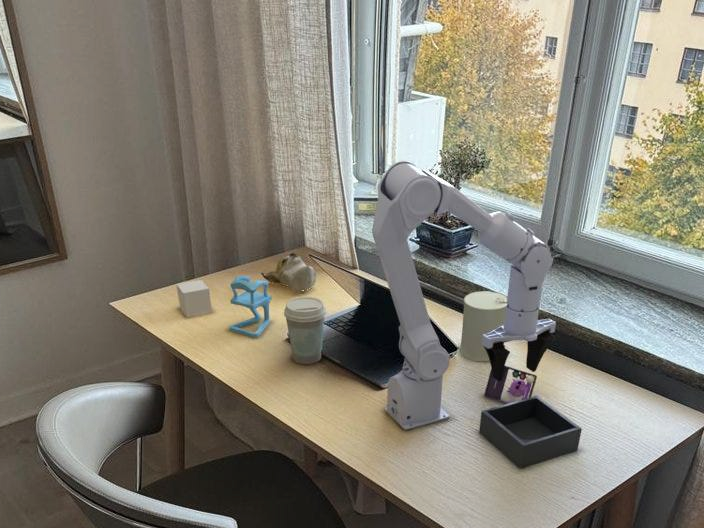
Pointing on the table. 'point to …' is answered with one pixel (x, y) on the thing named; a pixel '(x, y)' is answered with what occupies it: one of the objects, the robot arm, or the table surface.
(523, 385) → the purple toy package
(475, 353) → the can
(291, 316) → the coffee cup
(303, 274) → the ceramic sculpture
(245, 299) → the chair
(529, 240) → the robot arm
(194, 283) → the grey cube
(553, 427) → the tub
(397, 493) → the table surface
